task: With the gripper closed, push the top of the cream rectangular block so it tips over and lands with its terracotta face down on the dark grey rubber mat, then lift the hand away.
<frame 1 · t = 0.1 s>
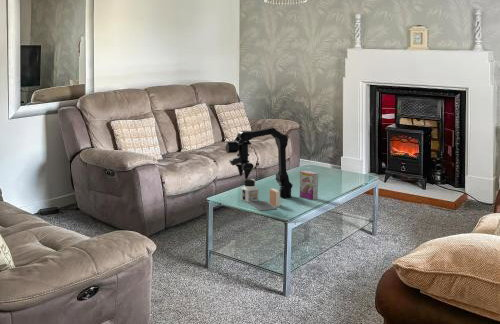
hand: (243, 177, 357), 15 cm above the table, tool pointing down, fingers open, 9 cm apart
cream rectangular block: (274, 204, 351), on the table
container: (249, 200, 361), on the table
candy bar box: (308, 198, 367), on the table
mat: (262, 206, 348), on the table
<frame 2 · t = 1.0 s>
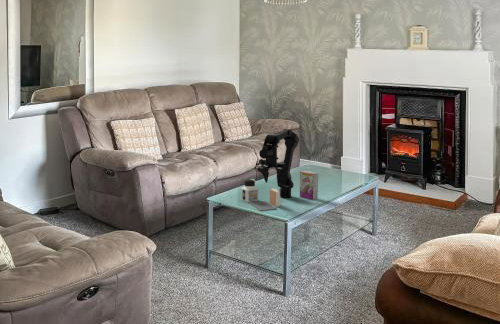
hand: (272, 181, 353), 13 cm above the table, tool pointing down, fingers open, 9 cm apart
nothing on the table moved.
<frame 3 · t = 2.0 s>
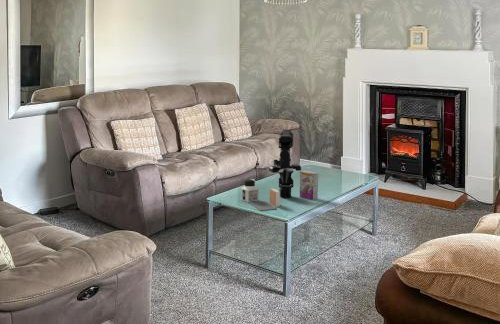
hand: (284, 182, 351), 13 cm above the table, tool pointing down, fingers closed
nothing on the table moved.
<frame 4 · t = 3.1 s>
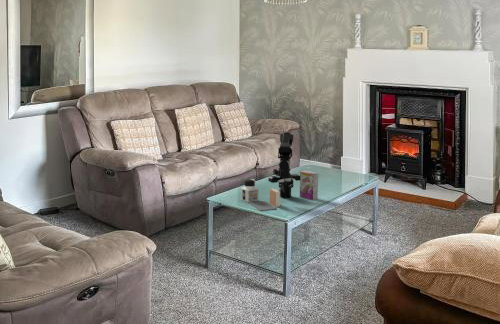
hand: (284, 192, 352), 7 cm above the table, tool pointing down, fingers closed
nothing on the table moved.
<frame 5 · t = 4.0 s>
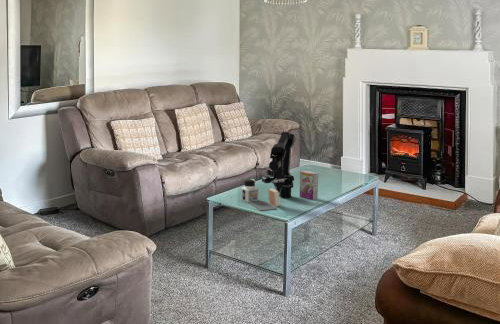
hand: (277, 192, 350), 7 cm above the table, tool pointing down, fingers closed
cream rectangular block: (274, 204, 351), on the table, tilted 6°, touching gripper
everything else where it was.
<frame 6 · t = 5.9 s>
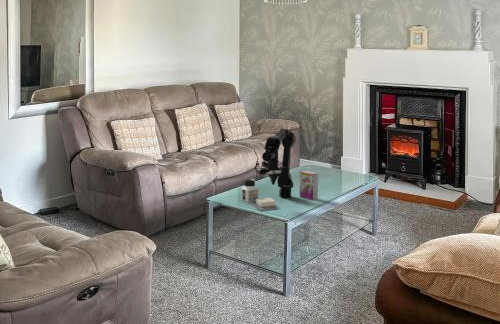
hand: (273, 184, 348), 12 cm above the table, tool pointing down, fingers closed
cream rectangular block: (272, 201, 350), point 2 cm above the table, tilted 90°, touching mat
everything else where it was.
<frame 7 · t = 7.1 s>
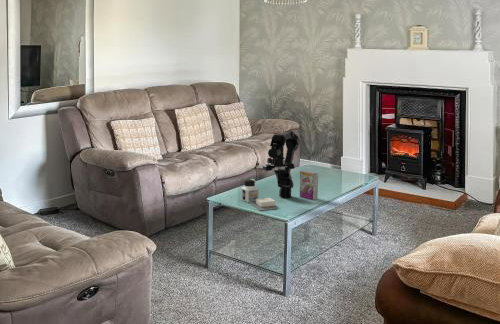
hand: (278, 180, 356), 13 cm above the table, tool pointing down, fingers closed
nothing on the table moved.
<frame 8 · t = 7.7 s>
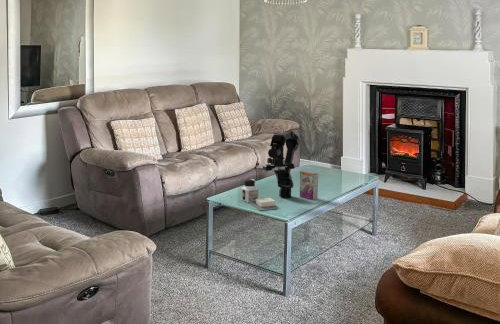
hand: (278, 180, 356), 13 cm above the table, tool pointing down, fingers closed
nothing on the table moved.
at the end: cream rectangular block tilted 90°; cream rectangular block touching mat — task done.
